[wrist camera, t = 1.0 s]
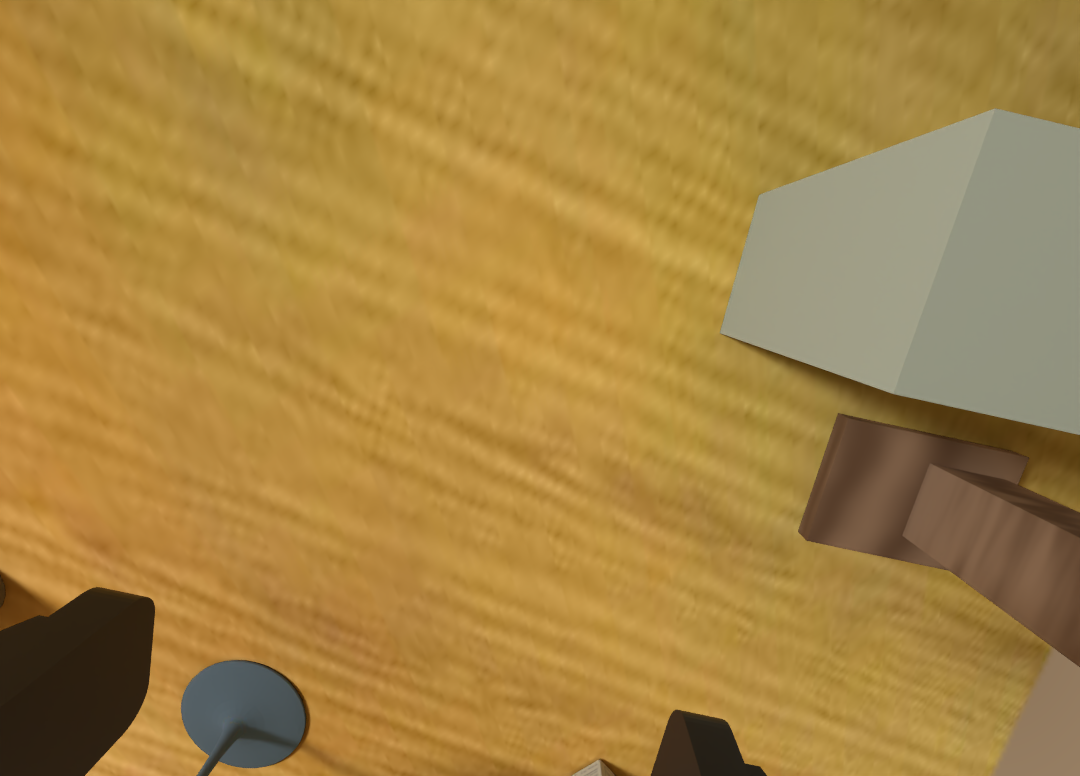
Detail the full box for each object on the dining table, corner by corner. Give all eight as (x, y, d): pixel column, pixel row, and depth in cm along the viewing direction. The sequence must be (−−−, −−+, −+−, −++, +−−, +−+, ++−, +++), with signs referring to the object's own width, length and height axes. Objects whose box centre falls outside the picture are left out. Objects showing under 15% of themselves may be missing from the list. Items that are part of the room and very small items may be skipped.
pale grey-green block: (719, 333, 41) (893, 393, 20) (759, 194, 39) (995, 108, 18) (887, 370, 41) (1222, 466, 21) (935, 235, 39) (1357, 194, 19)
